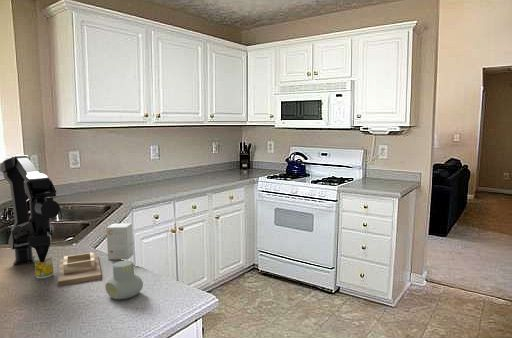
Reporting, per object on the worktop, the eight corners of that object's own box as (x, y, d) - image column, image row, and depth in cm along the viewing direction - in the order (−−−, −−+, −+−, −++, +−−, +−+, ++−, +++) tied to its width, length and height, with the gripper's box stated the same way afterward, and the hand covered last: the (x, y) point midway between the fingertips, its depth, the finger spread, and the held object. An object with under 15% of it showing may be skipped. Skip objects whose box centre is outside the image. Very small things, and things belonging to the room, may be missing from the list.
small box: (133, 254, 148) (132, 223, 147) (128, 259, 142) (126, 227, 141) (114, 254, 148) (112, 223, 147) (107, 259, 142) (105, 227, 141)
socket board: (60, 262, 139) (59, 251, 139) (97, 257, 145) (96, 246, 145) (57, 286, 118) (57, 272, 118) (101, 278, 124) (100, 265, 123)
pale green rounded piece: (102, 295, 111) (101, 263, 110) (127, 286, 118) (126, 256, 117) (121, 305, 104) (120, 271, 103) (146, 295, 111) (145, 263, 110)
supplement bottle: (56, 274, 128) (55, 247, 127) (43, 279, 123) (41, 252, 122) (45, 272, 130) (44, 245, 129) (31, 277, 125) (29, 250, 124)
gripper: (16, 210, 129) (19, 253, 131) (7, 222, 113) (11, 271, 114) (52, 207, 134) (54, 248, 136) (48, 218, 118) (52, 265, 119)
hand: (43, 257), depth 126 cm, fingers open, 9 cm apart
